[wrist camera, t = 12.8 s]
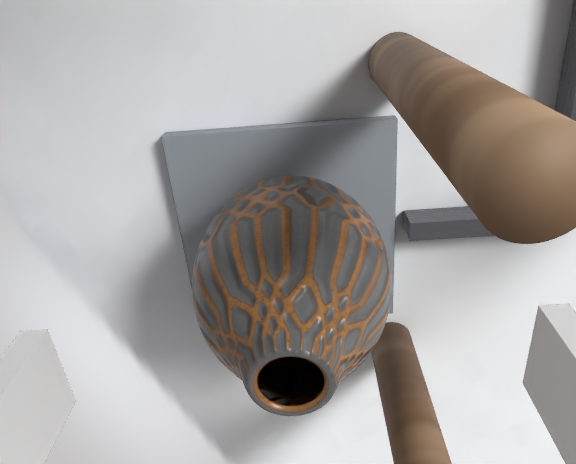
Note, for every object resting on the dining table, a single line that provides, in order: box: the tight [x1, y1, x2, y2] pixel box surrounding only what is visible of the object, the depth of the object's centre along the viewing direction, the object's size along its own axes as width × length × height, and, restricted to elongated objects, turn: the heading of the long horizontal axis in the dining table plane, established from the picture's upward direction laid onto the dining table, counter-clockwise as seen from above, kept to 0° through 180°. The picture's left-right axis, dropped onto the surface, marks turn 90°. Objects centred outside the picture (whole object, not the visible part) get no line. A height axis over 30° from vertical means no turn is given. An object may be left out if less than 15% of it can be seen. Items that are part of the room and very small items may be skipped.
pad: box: [161, 116, 397, 313], centre depth 21 cm, size 9×9×1 cm
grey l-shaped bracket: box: [404, 0, 576, 241], centre depth 18 cm, size 10×6×1 cm, turn 5°
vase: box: [192, 175, 392, 416], centre depth 17 cm, size 7×7×9 cm
